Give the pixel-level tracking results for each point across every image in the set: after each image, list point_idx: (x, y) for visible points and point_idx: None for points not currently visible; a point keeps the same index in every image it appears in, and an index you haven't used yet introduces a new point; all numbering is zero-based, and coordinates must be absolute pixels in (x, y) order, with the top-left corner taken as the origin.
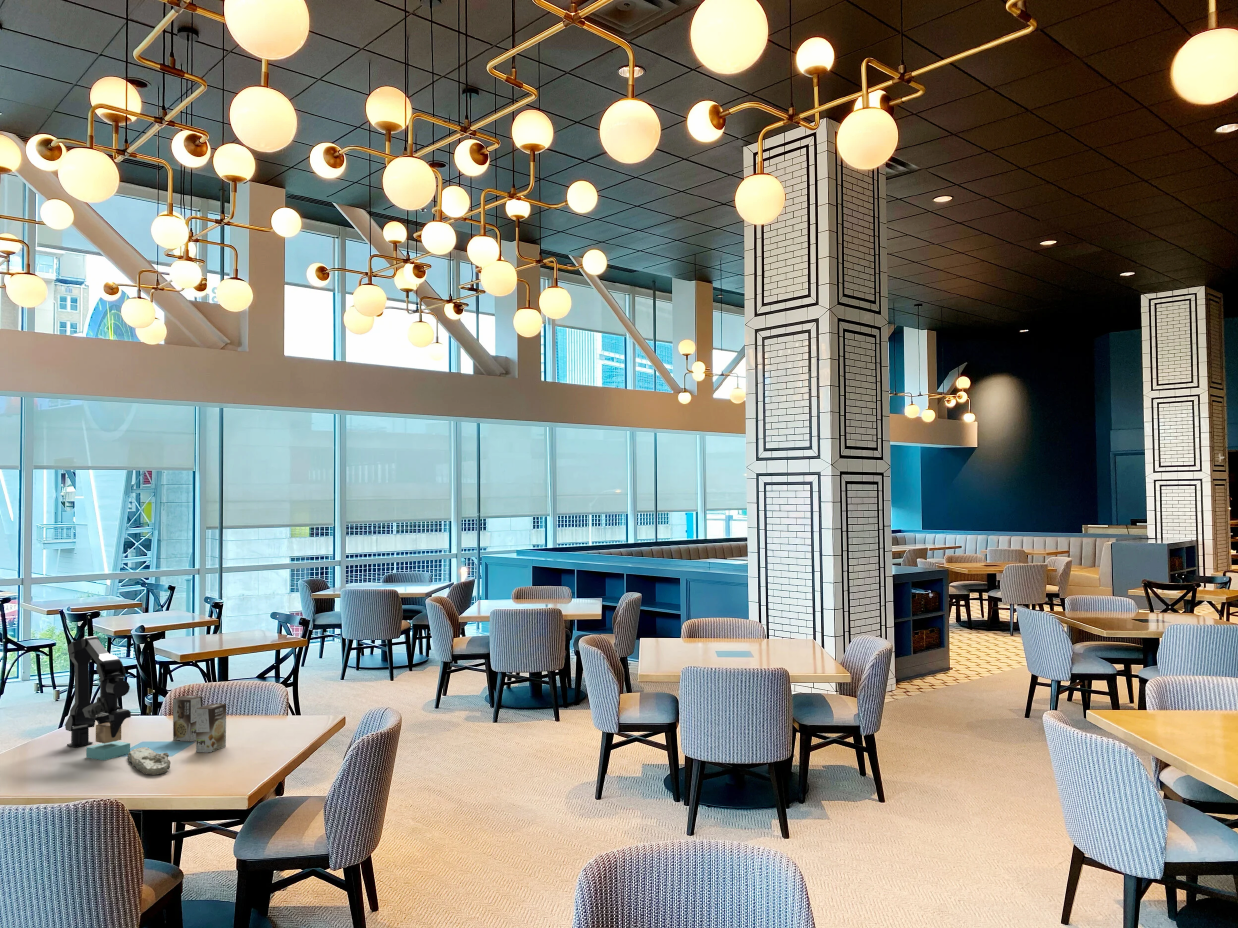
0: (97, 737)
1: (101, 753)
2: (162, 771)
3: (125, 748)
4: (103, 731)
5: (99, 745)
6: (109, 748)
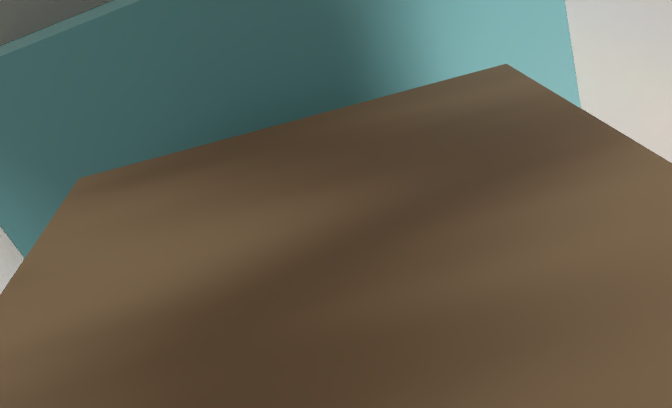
0: (451, 124)
1: (43, 35)
2: None
3: None
4: (46, 386)
5: None
6: (5, 199)
